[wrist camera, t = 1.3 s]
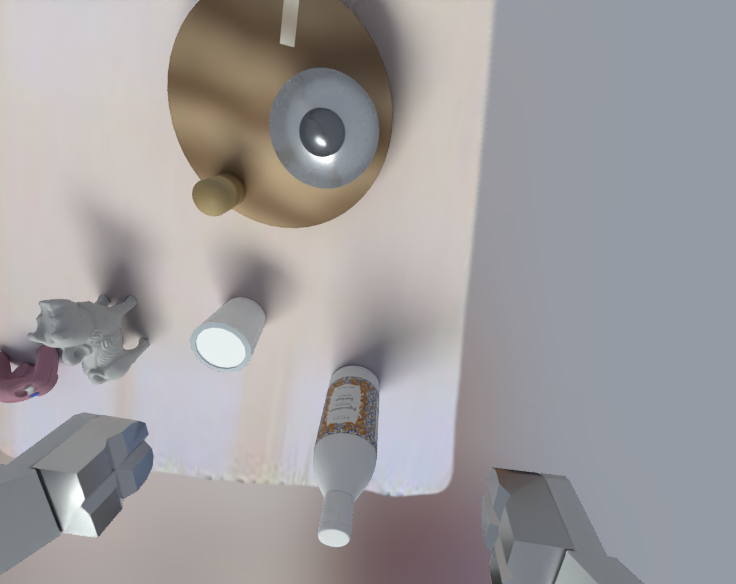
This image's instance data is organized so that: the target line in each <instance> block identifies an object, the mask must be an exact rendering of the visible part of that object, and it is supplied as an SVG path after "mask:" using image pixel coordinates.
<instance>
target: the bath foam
mask: <svg viewBox="0 0 736 584" xmlns="http://www.w3.org/2000/svg"><path fill="white" fill-rule="evenodd" d="M378 415H379V382H378V379H377V377H376V376H375V375H374V374H373V373H372V372H371V371H370V370H368V369H366V368H364V367H360V366H346V367H343V368H341V369H339V370H337V371H336V372H335V373H334V374H333V376H332V377H331V380H330V383H329V387H328V391H327V395H326V400H325V404H324V408H323V413H322V417H321V421H320V426H319V430H318V434H317V439H316V443H315V447H314V455H313V468H314V474H315V478H316V480H317V483H318V485H319V488H320V490H321V492H322V494H323V496H324V503H323V508H322V513H321V519H320V525H319V530H318V537H319V539H320V541H321V542H322V543H324V544H326V545H328V546H332V547H340V546H344V545H346V544H347V543H348V542H349V541H350V536H351V527H352V517H353V504H354V501H355V500H356V499H357V498H358V496H359V495H360V494H361V493H362V492H363V490H364V489H365V488H366V486H367V485H368V483H369V482H370V480H371V478H372V475H373V472H374V469H375V465H376V459H377V439H378Z"/></svg>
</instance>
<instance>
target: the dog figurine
mask: <svg viewBox="0 0 736 584" xmlns="http://www.w3.org/2000/svg"><path fill="white" fill-rule="evenodd" d="M108 304H109V300H108V298H106V297H105V296H99V298H98V300H97V302H95V303H92V302H90V301H88V302H77V303H75V302H73V301H70V300H67V299H51V300H44V301H40V302H39V305H40V307H41V314H40V315H39V316H38V317H37V318H36V320H37V322H38V326H37V330H36V332H35V333H29V334H28V335H27V337H28V339H29V340H31V341H34V342H39V343H42V344H44V345H46V346H49V347H53V348H61V349H62V350H63V353H62V360H63V362H64V363H65V364H66V365H71V366H73V365H76V364H78V363H80V362H81V361H82V368H83V371H84V373H85V375H87V376H88V378H89V380H90V381H91V382H92V383H93V384H102V383H104V382H106V381H108V380H115V379H118V378H120V377H122V376H123V375H125V374H126V373H127V371H128V370H129V368H130V366H131V365H132V363H134V362H135V361H136V359H137V358H138V357H139V356H140V355H141V354H142V353H143V352H144V351H145V350H146V349H147V348H148V347H149V342H148V340H147V339H142V338H141V339H139V344H138V346H137V347H136V348H134V349H131V350H125V349H124V348H123V340H122V332H121V329H120V326H121V325H122V318H123V317H124V315H125V314H126V313H127V312H128V311H129V310H131V309H132V308H133V307H134V306H135V305H136V304H137V300H136V299H135V298H134V297H132V296H128V297H127V299H126V301H125V302H122V303H120V304H118V305H115V306H114V307H108Z"/></svg>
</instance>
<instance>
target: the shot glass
mask: <svg viewBox="0 0 736 584" xmlns="http://www.w3.org/2000/svg"><path fill="white" fill-rule="evenodd" d="M265 323H266V317H265V313H264V311H263V309H262V308H261V307H260V306H259V305H258V304H257V303H256V302H255V301H252V300H250V299H248V298H243V297H237V298H233V299H230V300H229V301H228V302H227V303H225V304H224V305H223V306H222V307H221V308H220V309H218V310H217V311H216V312H215V313H214V314H213V315H211V316H210V317H209V318H208V319H207V320H206V321H204V322H203V323H202V324H201V325H200V326H199V327H197V328H196V329H195V330H194V331H193V333H192V336H191V339H190V343H191V348H192V351H193V353H194V354H195V356H196V357H197V359H198V360H199V361H200V362H202V363H203V364H204V365H205V366H207V367H209V368H211V369H213V370H216V371H218V372H227V373H231V372H236V371H240V370H241V369H243V368H244V367H245V366H247V365H248V363H249V361H250V359H251V357H252V354H253V352H254V349H255V347H256V345H257V342H258V340H259V337H260V335H261V333H262V330H263V328H264V325H265Z"/></svg>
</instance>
